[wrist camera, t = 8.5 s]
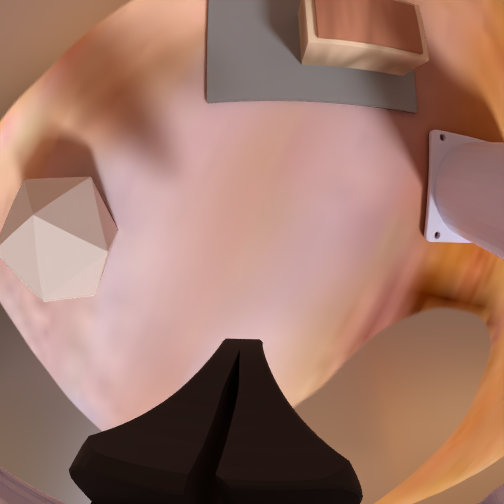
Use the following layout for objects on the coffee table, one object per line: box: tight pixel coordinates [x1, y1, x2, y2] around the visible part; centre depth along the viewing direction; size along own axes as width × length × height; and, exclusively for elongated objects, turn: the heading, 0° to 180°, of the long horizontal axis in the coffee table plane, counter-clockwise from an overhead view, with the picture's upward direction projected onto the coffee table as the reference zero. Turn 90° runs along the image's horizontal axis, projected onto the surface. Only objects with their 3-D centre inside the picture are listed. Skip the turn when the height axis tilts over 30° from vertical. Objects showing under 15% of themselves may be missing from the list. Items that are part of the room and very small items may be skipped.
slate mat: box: [207, 0, 417, 113], centre depth 16 cm, size 14×9×1 cm, turn 91°
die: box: [0, 177, 118, 302], centre depth 17 cm, size 8×9×10 cm
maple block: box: [298, 0, 429, 76], centre depth 13 cm, size 4×4×7 cm
